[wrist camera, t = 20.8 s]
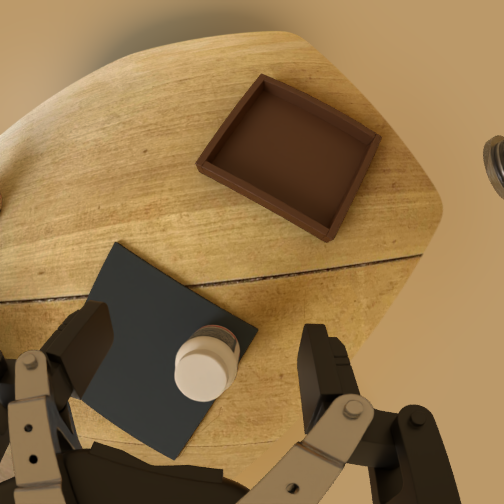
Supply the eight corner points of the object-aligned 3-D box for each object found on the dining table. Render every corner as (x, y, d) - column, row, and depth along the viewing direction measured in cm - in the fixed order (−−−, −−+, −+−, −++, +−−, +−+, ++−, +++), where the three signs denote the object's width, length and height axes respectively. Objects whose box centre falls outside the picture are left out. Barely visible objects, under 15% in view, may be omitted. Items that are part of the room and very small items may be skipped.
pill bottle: (184, 328, 29) (157, 349, 20) (233, 319, 29) (226, 337, 20) (196, 376, 28) (176, 412, 19) (244, 368, 28) (242, 403, 20)
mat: (258, 329, 29) (258, 329, 29) (175, 458, 28) (174, 460, 27) (116, 242, 30) (115, 241, 29) (58, 377, 28) (56, 378, 28)
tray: (374, 145, 31) (382, 136, 28) (326, 243, 30) (333, 240, 27) (260, 85, 32) (261, 73, 29) (199, 171, 31) (194, 163, 28)
